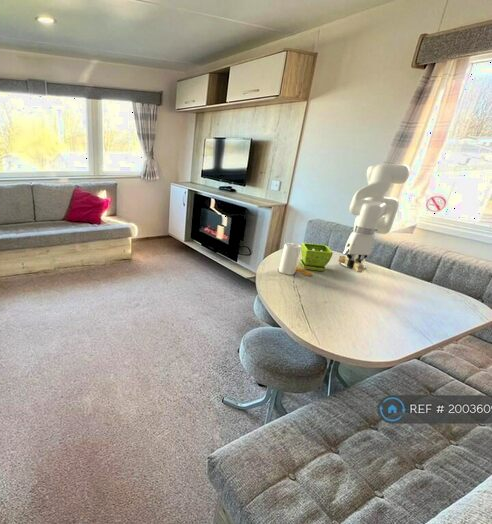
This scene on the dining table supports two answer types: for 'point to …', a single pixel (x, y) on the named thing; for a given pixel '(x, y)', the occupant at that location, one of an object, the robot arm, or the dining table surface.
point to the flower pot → (315, 256)
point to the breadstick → (303, 271)
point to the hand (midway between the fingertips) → (352, 267)
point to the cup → (289, 258)
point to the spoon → (356, 266)
